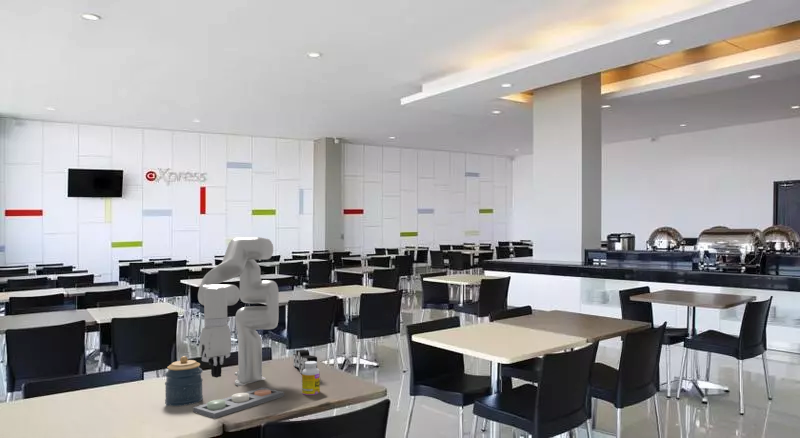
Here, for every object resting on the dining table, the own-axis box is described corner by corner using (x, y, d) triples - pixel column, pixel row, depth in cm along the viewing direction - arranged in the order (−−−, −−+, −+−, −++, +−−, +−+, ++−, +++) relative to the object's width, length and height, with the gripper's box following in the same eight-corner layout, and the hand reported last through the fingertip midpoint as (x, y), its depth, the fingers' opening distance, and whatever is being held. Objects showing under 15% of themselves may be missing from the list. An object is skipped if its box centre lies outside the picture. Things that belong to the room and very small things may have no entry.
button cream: (228, 404, 199) (228, 395, 199) (242, 400, 204) (242, 391, 204) (238, 407, 196) (238, 398, 196) (252, 402, 201) (252, 394, 201)
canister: (210, 400, 209) (210, 353, 210) (186, 411, 197) (186, 361, 198) (182, 398, 214) (181, 351, 214) (157, 408, 201) (156, 359, 202)
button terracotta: (251, 400, 207) (251, 392, 207) (264, 396, 212) (263, 388, 212) (261, 403, 204) (261, 394, 204) (274, 399, 209) (274, 391, 209)
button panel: (214, 422, 184) (214, 413, 184) (193, 416, 192) (193, 407, 192) (284, 400, 208) (284, 392, 208) (263, 395, 216) (262, 387, 216)
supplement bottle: (316, 399, 209) (315, 364, 209) (299, 398, 210) (299, 364, 210) (322, 394, 215) (321, 360, 216) (306, 393, 217) (305, 360, 217)
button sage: (203, 411, 191) (203, 402, 191) (218, 407, 196) (218, 398, 196) (214, 414, 188) (214, 405, 188) (229, 410, 193) (229, 401, 193)
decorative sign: (317, 375, 235) (316, 351, 237) (308, 377, 234) (306, 352, 235) (302, 370, 264) (301, 348, 266) (293, 371, 263) (292, 349, 264)
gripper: (227, 319, 201) (228, 370, 201) (190, 324, 189) (190, 379, 189) (240, 320, 197) (241, 373, 196) (203, 326, 185) (203, 382, 184)
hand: (216, 376), depth 192 cm, fingers closed
